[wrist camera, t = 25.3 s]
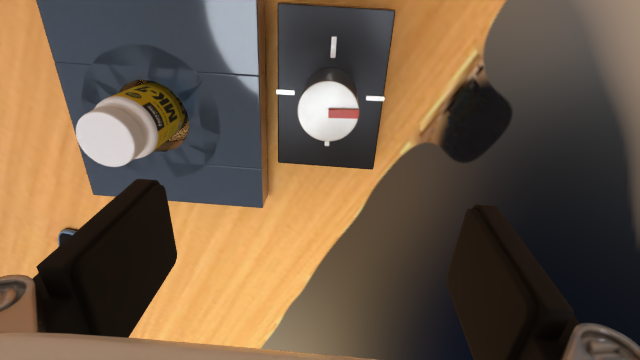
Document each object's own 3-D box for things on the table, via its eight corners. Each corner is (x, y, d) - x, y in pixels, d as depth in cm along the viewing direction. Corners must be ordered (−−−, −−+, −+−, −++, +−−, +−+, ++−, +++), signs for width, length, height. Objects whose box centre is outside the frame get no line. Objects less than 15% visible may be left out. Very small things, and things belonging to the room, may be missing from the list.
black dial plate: (282, 2, 26) (275, 2, 23) (391, 8, 26) (397, 10, 23) (282, 148, 32) (276, 163, 29) (371, 155, 31) (374, 170, 29)
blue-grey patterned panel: (53, -28, 26) (26, -30, 24) (264, -15, 26) (256, -16, 23) (109, 182, 34) (93, 195, 32) (268, 194, 34) (262, 208, 32)
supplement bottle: (200, 107, 30) (154, 143, 23) (170, 142, 32) (118, 185, 25) (154, 66, 29) (89, 90, 21) (126, 105, 31) (56, 139, 23)
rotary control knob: (304, 119, 27) (297, 142, 23) (303, 67, 25) (295, 81, 21) (355, 121, 27) (357, 144, 23) (358, 68, 25) (361, 82, 21)
